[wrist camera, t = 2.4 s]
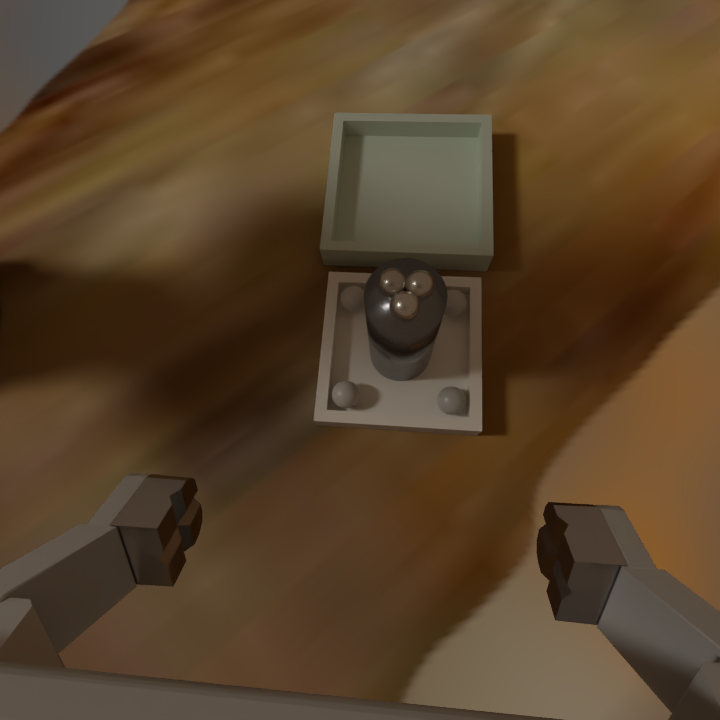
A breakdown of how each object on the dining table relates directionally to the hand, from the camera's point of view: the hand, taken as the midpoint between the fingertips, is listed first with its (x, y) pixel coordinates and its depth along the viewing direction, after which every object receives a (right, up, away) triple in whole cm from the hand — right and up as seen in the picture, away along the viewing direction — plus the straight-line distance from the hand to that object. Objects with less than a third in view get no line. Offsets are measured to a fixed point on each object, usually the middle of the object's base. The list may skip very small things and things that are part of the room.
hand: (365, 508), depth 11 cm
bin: (+5, +20, +37) cm, 42 cm away
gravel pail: (+4, +4, +31) cm, 32 cm away
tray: (+4, +4, +32) cm, 32 cm away
